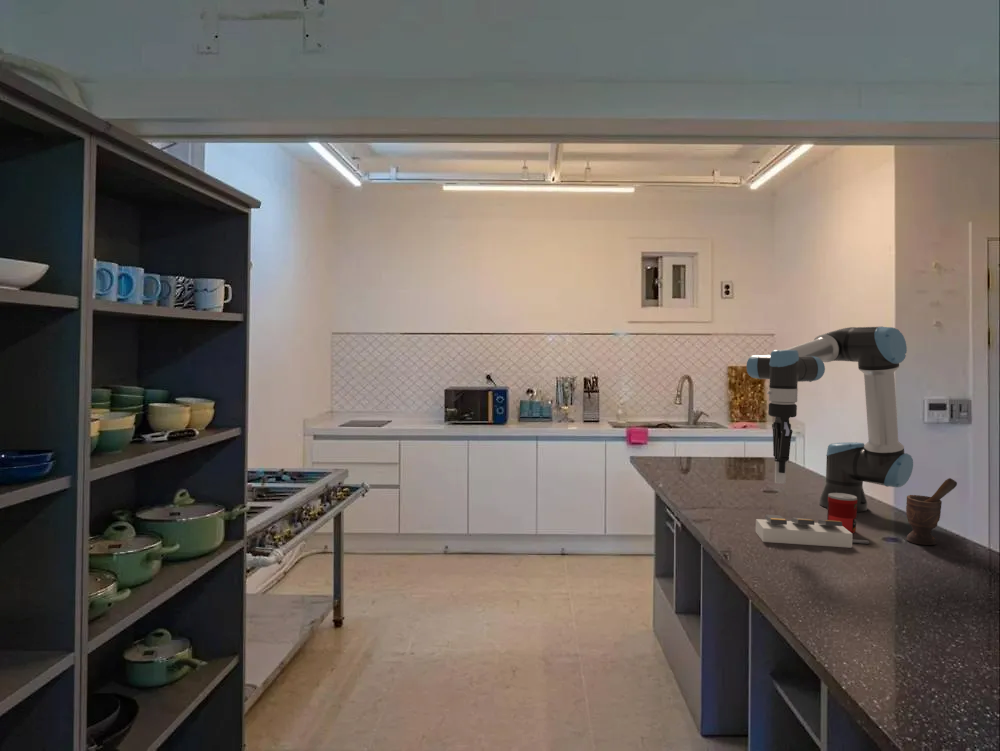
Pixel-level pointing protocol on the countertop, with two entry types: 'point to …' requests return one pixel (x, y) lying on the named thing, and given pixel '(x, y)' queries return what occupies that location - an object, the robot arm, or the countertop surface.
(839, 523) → the rocker
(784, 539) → the rocker switch panel
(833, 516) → the canned food
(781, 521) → the block
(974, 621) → the countertop surface
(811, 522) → the rocker middle
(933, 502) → the mortar and pestle
